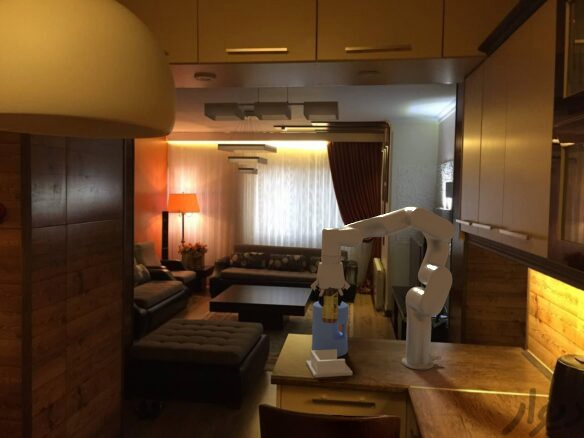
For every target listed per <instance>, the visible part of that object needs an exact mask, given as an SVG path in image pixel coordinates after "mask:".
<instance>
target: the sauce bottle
mask: <svg viewBox="0 0 584 438" xmlns="http://www.w3.org/2000/svg"><path fill="white" fill-rule="evenodd" d="M323 297H324V302H323V306H322V321H323V322H325V323H335V322H337V318H338V289H335V288H331V287H329V288H328V289H325V290H324V292H323Z"/></svg>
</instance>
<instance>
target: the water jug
mask: <svg viewBox="0 0 584 438" xmlns="http://www.w3.org/2000/svg"><path fill="white" fill-rule="evenodd" d="M349 311H350V309H349V305H348V304H347V303H345V302H344V301H342V303H341V306H338V318H337V322H335V323H325V322H323V321H322V306H321V305H320V304H319V300H318V301H316V302H314V303H313V304H312V326H311V333H312V335H311V337H312V338H311V339H312V340H311V350H332V349H337V358H339V357H343V356H346V354H347V353H348V351H349V350H348V341H349V339H348V335H347V334H348V333H347V328H348V325H347V323H348V321H349ZM340 325H342V331H340V330H339V329H340V327H339V326H340Z"/></svg>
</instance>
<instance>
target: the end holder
mask: <svg viewBox="0 0 584 438" xmlns="http://www.w3.org/2000/svg"><path fill="white" fill-rule="evenodd" d="M305 362H306V363H305V364H306V367H308V369H309V371H310V373H311V374H312V376H313V378H328V377H331V378H332V377H343V376H344V377H345V376H347V377H348V376H353V370H351V368H350V367H349V366H348V365H347V363H346V359H345V358H338V357H337V349H332V350H312V349H311V350H310V360H306V361H305Z"/></svg>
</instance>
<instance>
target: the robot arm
mask: <svg viewBox="0 0 584 438" xmlns="http://www.w3.org/2000/svg"><path fill="white" fill-rule="evenodd" d="M410 229H416V230H419V231H420V232H421V233H422V234H423V236H424V238H425V239H426V240H425V241H426V244H427V245H426V246H427V247H426V252H425V255H424V258H423V260H422V263H421V264H420V267H419V270H418V274H417V278H418V279H417V280H418V281H419V282H420V283H421V284H422V285H424V286H425V287H421V286H414V287H412V288H410V289H409V290H408V291H407V293H406V294H405V295H406V296H405V308H406V339H405V357H402V359H401V364H402V365H403V366H404V367H406V368H410V369H413V370H421V371H425V370H431V369H432V368H433V367H434V365H435V364H434V361H435V360H436V361H439V360H440V361H441V360H442V356H441V354H436V353H431V339H432V318H434V317H436V316H437V315H439V314H440V313H441V312H442V309H443V308H444V305H445V304H446V301H447V298H448V296H449V293H450V291H451V288H452V285H453V274H452V272H451V271H450V270H449V268H447V267H445V266H446V263H447V261H448V257H449V253H450V252H449V251H450V247H449V241H451V240H452V239H453V238H454V236H455V231H456V230H455V229H456V228H455V226H454V224H453V223H452V222H451V221H450V220H448V219H446V218H444V217H442V216H440V215H438V214H436V213H434V212H433V211H431V210H429V209H426V208H424V207H421V206H405V207H402V208H400V209H397V210H394V211H391V212H389V213H385V214H381V215H378V216H374V217H370V218H367V219H362V220H359V221H355V222H353V223H350V224H347V225H343V226H342V227H340V228H339V227H324V228H323V229H322V231H321V258H320V259H321V261H320V262H319V263H318V266H317V272H316V273H317V274H316V280H315V281H313V282H312V283H311V284H310V288H311V289H312V290H313V291H314V292H315V293H316V294H317V295H318V301H319V304H320V305H321V306H323V302H324V297H323V292H324V290H325V289H328V288H329V287H331V288H335V289H338V306H341V303H342V302H343V296H344V293H346V292H347V290H348V289H349V288H350V287H351V284H349V282H347V281H346V280H345V274H344V273H345V272H344V266H343V262H342V261H344V260H345V256H342V247H346V248H357V247H359V246H360V245H361V244H362V243H363V239H368V238H383V237H389V236H392V235H395V234H398V233H400V232H404V231H406V230H410ZM317 287H318V288H319V289H318V288H317Z"/></svg>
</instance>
